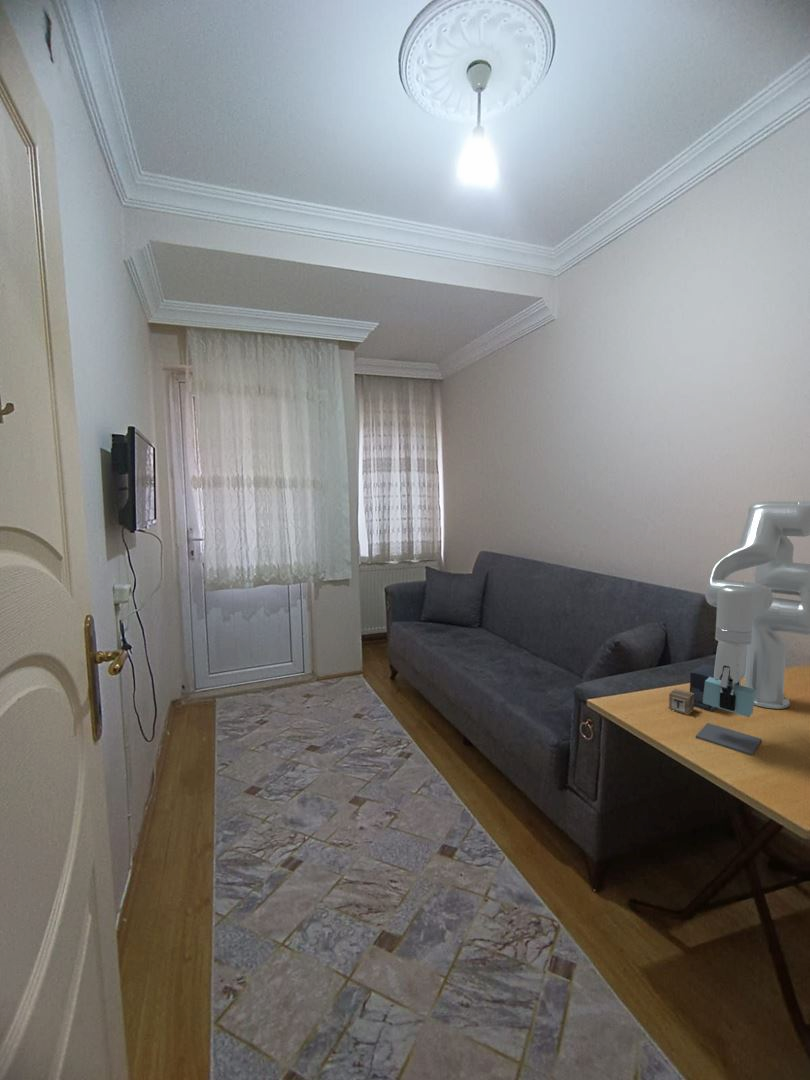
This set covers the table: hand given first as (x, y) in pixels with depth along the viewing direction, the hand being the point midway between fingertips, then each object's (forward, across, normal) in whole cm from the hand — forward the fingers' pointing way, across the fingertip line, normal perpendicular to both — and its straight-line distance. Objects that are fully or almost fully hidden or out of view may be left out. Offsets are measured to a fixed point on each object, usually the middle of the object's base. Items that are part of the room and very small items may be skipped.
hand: (729, 705), depth 121 cm
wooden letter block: (+9, -10, -14) cm, 20 cm away
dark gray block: (+9, 0, 0) cm, 9 cm away
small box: (+9, -20, -10) cm, 24 cm away
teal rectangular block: (+1, 0, 0) cm, 1 cm away
